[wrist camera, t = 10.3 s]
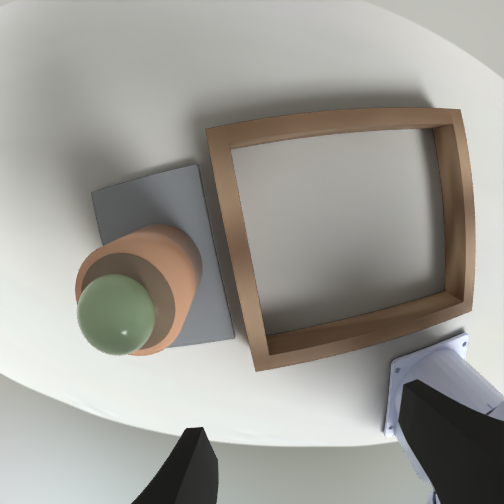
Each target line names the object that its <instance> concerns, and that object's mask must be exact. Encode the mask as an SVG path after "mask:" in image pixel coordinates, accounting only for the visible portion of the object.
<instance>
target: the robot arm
mask: <svg viewBox="0 0 504 504" xmlns="http://www.w3.org/2000/svg"><path fill="white" fill-rule="evenodd" d="M468 340H469V335H468V334H467V333H462V334H460V335H457V336H455V337H453V338H450V339H448V340H445V341H443V342H440V343H438V344H435V345H433V346H430V347H427V348H425V349H422V350H419V351H417V352H414V353H411V354H408V355H405V356H402V357H399V358H396V359H395V360H393V362H392V363H391V372H390V385H389V396H388V406H387V414H386V422H385V429H384V435H385V437H391V436H393V435H395V436H396V438H397V439H398V441H399V443H400V445H401V447H402V448H403V450H404V452H405V454H406V456H407V458H408V459H409V461H410V463H411V465H412V467H413V469H414V470H415V472H416V474H417V475H418V476H419V477H420V478H421V479H422V480H423V481H425V482H427V483H430V484H431V485H432V487H433V490H432V491H431V492H430V494H429V495H428V498H427V504H504V396H503V395H502V394H501V393H500V392H499V391H498V390H497V389H496V388H495V387H494V386H493V385H492V384H491V383H489V382H488V381H487V380H486V379H485V378H484V377H483V376H482V375H481V374H480V373H479V372H478V371H476V370H475V369H474V368H473V367H472V366H471V365H470V364H469V363H468V362H467V361H465V357H466V352H467V346H468ZM397 368H398V369H397ZM396 369H397V370H396ZM395 370H396V371H395ZM217 493H218V459H217V457H216V455H215V453H214V451H213V449H212V446H211V444H210V442H209V440H208V438H207V435H206V433H205V431H204V428H203V427H198V428H186V429H185V430H184V432H183V434H182V435H181V437H180V439H179V440H178V442H177V444H176V445H175V447H174V449H173V450H172V452H171V453H170V455H169V457H168V458H167V460H166V461H165V462H164V464H163V465H162V467H161V468H160V470H159V471H158V473H157V474H156V475H155V477H154V478H153V479H152V481H151V482H150V483H149V485H148V486H147V487H146V488H145V489H144V490H143V492H142V493H141V494H140V495H139V496H138V497H137V498H136V499H135V500H134V501H133V502H132V503H131V504H216V502H217Z"/></svg>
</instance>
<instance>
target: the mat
mask: <svg viewBox="0 0 504 504" xmlns="http://www.w3.org/2000/svg"><path fill="white" fill-rule="evenodd" d="M91 194H92V199H93V205H94V209H95V214H96V219H97V223H98V228H99V232H100V236H101V240H102V244H103V246H104V245H106V244H109V243H111V242H113V241H115V240H117V239H119V238H121V237H123V236H125V235H128V234H130V233H132V232H134V231H136V230H138V229H141V228H143V227H145V226H148V225H152V224H167V225H171V226H174V227H176V228H178V229H180V230H182V231H183V232H185V233H186V234H187V235H188V236H189V237H190V238H191V239H192V240H193V241H194V243H195V244H196V246H197V247H198V249H199V252H200V254H201V258H202V263H203V273H202V278H201V282H200V284H199V287H198V289H197V292H196V294H195V296H194V299H193V301H192V304H191V306H190V309H189V311H188V314H187V316H186V318H185V321H184V323H183V326H182V328H181V331H180V333H179V334H178V336H177V338H176V339H175V340H174V341H173V342H172V343H171V344H170V345H169V346H168V347H167V348H171V347H179V346H187V345H194V344H202V343H209V342H215V341H222V340H228V339H234V338H235V333H234V329H233V324H232V320H231V316H230V312H229V307H228V303H227V299H226V294H225V290H224V286H223V281H222V277H221V272H220V268H219V263H218V259H217V254H216V249H215V245H214V240H213V235H212V231H211V226H210V221H209V216H208V211H207V206H206V201H205V196H204V191H203V186H202V181H201V176H200V171H199V165H198V164H195V165H191V166H186V167H182V168H178V169H174V170H170V171H165V172H162V173H158V174H154V175H150V176H146V177H142V178H139V179H135V180H132V181H128V182H124V183H121V184H118V185H114V186H111V187H108V188H104V189H101V190H98V191H95V192H91Z"/></svg>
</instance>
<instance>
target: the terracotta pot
mask: <svg viewBox="0 0 504 504" xmlns="http://www.w3.org/2000/svg"><path fill="white" fill-rule="evenodd" d="M202 273H203V263H202V258H201V254H200V252H199V249H198V247H197V246H196V244H195V243H194V241H193V240H192V239H191V238H190V237H189V236H188V235H187V234H186V233H185V232H183V231H182V230H180V229H178V228H176V227H174V226H171V225H167V224H152V225H148V226H145V227H143V228H141V229H138V230H136V231H134V232H132V233H130V234H128V235H125V236H123V237H121V238H119V239H117V240H115V241H113V242H111V243H109V244H106V245H104V246H102V247H100V248H98V249H96V250H95V251H94V252H92V253H91V254H90V255H89V256H88V257H87V258H86V259H85V261H84V262H83V263H82V265H81V267H80V269H79V272H78V275H77V279H76V287H75V293H76V301H77V305H78V306H77V320H78V324H79V327H80V330H81V332H82V334H83V336H84V337H85V339H86V340H87V341H88V342H89V343H90V344H91V345H92V346H93V347H94V348H96V349H97V350H99V351H101V352H103V353H106V354H109V355H116V356H121V355H127V354H128V355H135V356H145V355H151V354H154V353H158V352H160V351H162V350H164V349H165V348H167V347H168V346H169V345H170V344H171V343H172V342H173V341H174V340H175V339H176V338H177V336H178V334H179V333H180V331H181V328H182V326H183V323H184V321H185V318H186V316H187V314H188V311H189V309H190V306H191V304H192V301H193V299H194V296H195V294H196V292H197V289H198V287H199V284H200V282H201V278H202Z"/></svg>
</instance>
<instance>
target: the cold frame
mask: <svg viewBox="0 0 504 504" xmlns="http://www.w3.org/2000/svg"><path fill="white" fill-rule="evenodd" d="M396 129H433V134H434V139H435V145H436V151H437V157H438V164H439V171H440V178H441V187H442V197H443V209H444V224H445V258H446V263H445V291H442V292H439V293H436V294H433V295H430V296H427V297H424V298H420V299H417V300H414V301H410V302H407V303H404V304H400V305H397V306H393V307H390V308H386V309H382V310H379V311H375V312H371V313H367V314H364V315H360V316H356V317H352V318H348V319H344V320H339V321H335V322H331V323H327V324H322V325H318V326H313V327H309V328H304V329H299V330H295V331H290V332H285V333H280V334H274V335H269V336H266V332H265V327H264V322H263V317H262V312H261V306H260V301H259V296H258V291H257V286H256V281H255V275H254V270H253V265H252V260H251V255H250V249H249V244H248V239H247V234H246V229H245V223H244V218H243V213H242V208H241V203H240V197H239V192H238V187H237V182H236V177H235V171H234V166H233V161H232V156H231V150H230V149H235V148H241V147H246V146H252V145H258V144H264V143H270V142H276V141H283V140H290V139H297V138H305V137H312V136H321V135H330V134H340V133H351V132H363V131H377V130H396ZM205 130H206V135H207V141H208V146H209V151H210V157H211V162H212V167H213V172H214V178H215V183H216V188H217V193H218V198H219V203H220V208H221V213H222V218H223V223H224V228H225V233H226V238H227V243H228V248H229V252H230V257H231V262H232V267H233V272H234V276H235V281H236V286H237V290H238V295H239V300H240V304H241V309H242V313H243V318H244V323H245V327H246V332H247V336H248V340H249V345H250V349H251V354H252V358H253V362H254V367H255V371H256V372H258V371H263V370H269V369H275V368H280V367H285V366H290V365H295V364H300V363H304V362H309V361H313V360H318V359H322V358H326V357H331V356H335V355H339V354H343V353H347V352H350V351H354V350H358V349H361V348H365V347H369V346H372V345H376V344H379V343H382V342H386V341H389V340H392V339H395V338H399V337H402V336H405V335H408V334H411V333H414V332H417V331H420V330H423V329H425V328H428V327H431V326H434V325H437V324H439V323H442V322H445V321H447V320H450V319H452V318H455V317H458V316H460V315H463V314H465V313H468V312H470V311H472V303H473V292H474V278H475V209H474V194H473V183H472V174H471V166H470V159H469V152H468V146H467V140H466V134H465V129H464V124H463V119H462V115H461V110H460V109H445V108H418V107H387V108H358V109H342V110H329V111H318V112H308V113H299V114H291V115H283V116H276V117H269V118H262V119H256V120H250V121H244V122H239V123H233V124H228V125H223V126H218V127H213V128H208V129H205Z"/></svg>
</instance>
